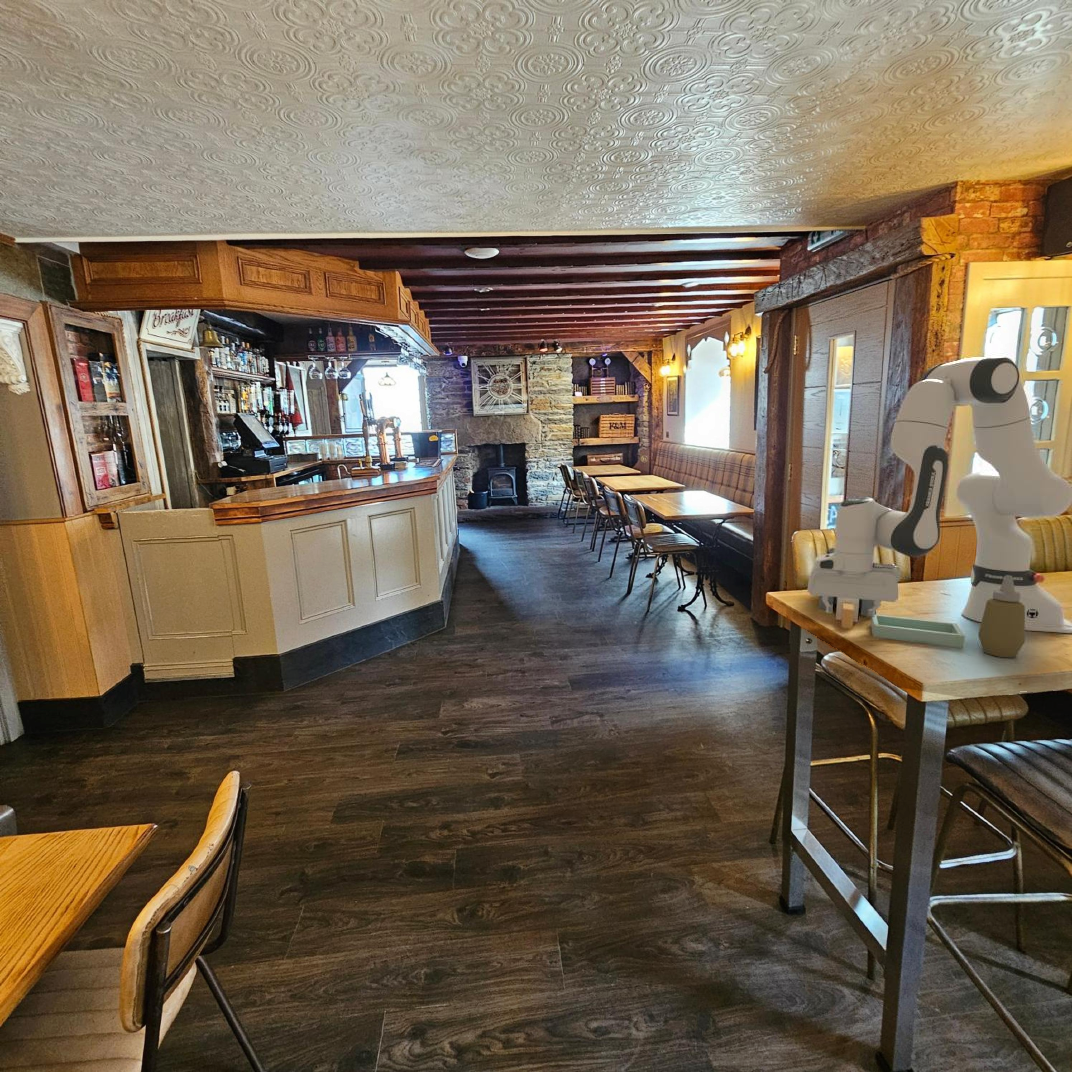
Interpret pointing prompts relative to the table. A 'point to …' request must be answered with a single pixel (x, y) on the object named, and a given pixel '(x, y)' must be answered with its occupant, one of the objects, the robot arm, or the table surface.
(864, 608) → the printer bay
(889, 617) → the tray
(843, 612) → the two-tone block
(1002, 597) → the squeeze bottle
